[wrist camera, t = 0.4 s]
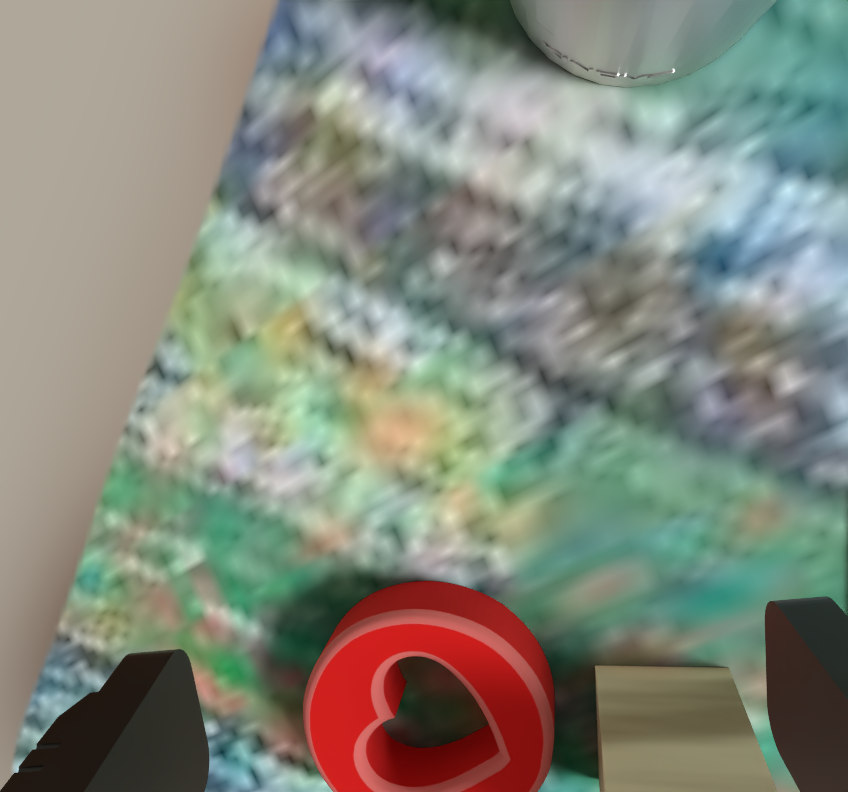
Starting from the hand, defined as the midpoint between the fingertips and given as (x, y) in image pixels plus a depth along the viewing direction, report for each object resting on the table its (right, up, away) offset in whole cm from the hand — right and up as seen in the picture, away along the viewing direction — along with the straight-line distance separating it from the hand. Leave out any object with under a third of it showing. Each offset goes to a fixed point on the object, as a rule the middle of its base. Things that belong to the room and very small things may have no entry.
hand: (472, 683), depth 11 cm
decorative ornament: (0, -8, +22) cm, 24 cm away
